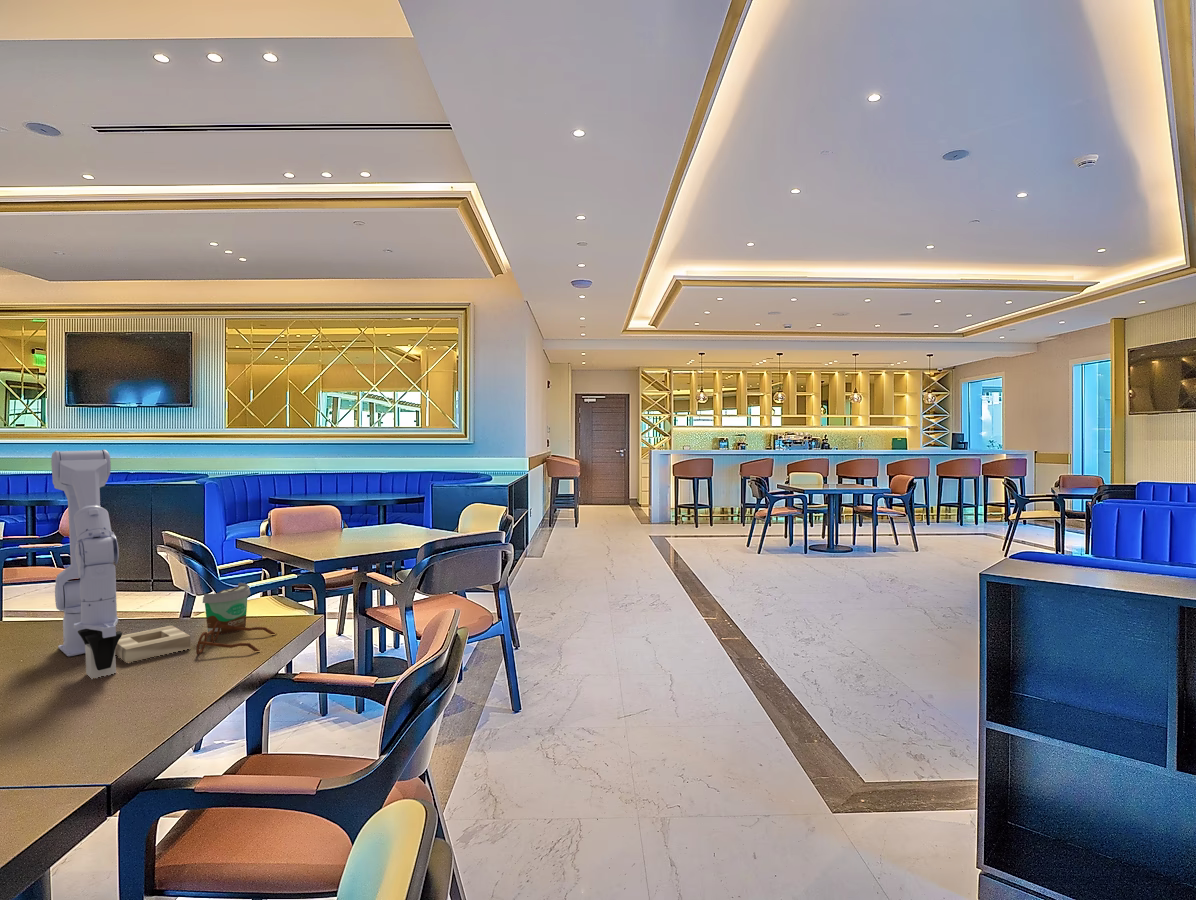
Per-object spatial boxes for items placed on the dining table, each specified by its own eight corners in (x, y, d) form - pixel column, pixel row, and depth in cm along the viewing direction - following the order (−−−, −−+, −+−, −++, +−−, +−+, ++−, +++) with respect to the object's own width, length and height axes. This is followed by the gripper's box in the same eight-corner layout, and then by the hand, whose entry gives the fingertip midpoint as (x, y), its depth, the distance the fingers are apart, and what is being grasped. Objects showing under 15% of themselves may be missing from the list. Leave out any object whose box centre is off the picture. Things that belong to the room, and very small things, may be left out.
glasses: (216, 640, 157) (216, 618, 157) (277, 636, 159) (276, 615, 159) (194, 659, 144) (194, 636, 144) (260, 654, 147) (260, 632, 146)
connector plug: (86, 674, 134) (85, 644, 134) (110, 668, 137) (109, 639, 137) (91, 679, 132) (90, 648, 131) (116, 673, 135) (115, 643, 134)
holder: (110, 651, 148) (109, 637, 148) (172, 638, 157) (171, 625, 157) (126, 663, 140) (125, 649, 140) (190, 649, 149) (190, 635, 149)
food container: (226, 638, 157) (225, 595, 156) (203, 636, 158) (202, 594, 158) (262, 623, 169) (261, 583, 169) (241, 621, 170) (240, 582, 170)
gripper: (64, 596, 136) (66, 663, 136) (83, 608, 126) (85, 680, 127) (107, 589, 141) (109, 654, 141) (127, 601, 131) (129, 670, 132)
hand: (100, 666), depth 134 cm, fingers closed on connector plug, 4 cm apart
